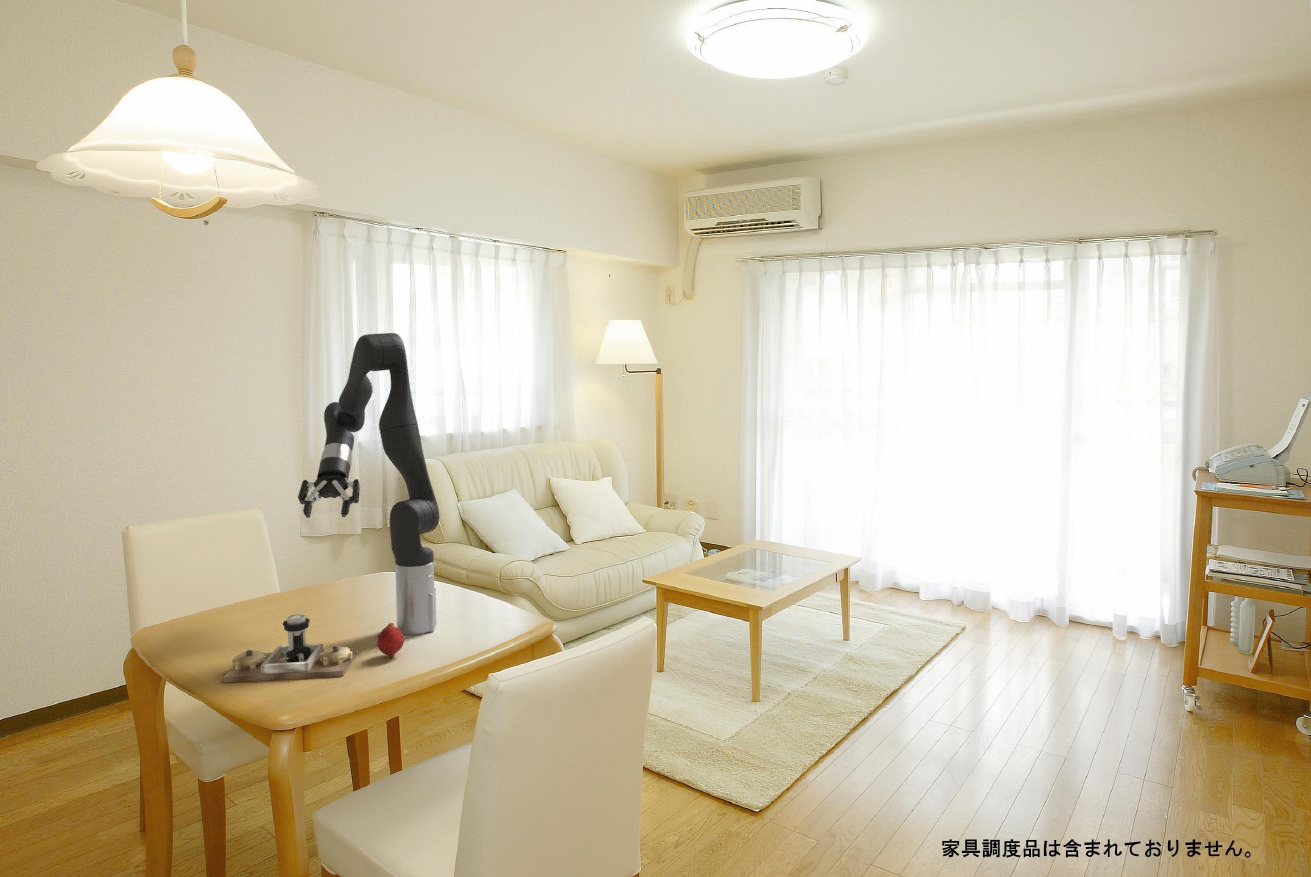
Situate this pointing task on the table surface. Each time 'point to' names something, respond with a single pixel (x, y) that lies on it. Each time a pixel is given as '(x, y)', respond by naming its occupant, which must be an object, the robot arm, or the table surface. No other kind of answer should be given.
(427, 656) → the table surface
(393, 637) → the onion
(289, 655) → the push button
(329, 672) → the gear board
